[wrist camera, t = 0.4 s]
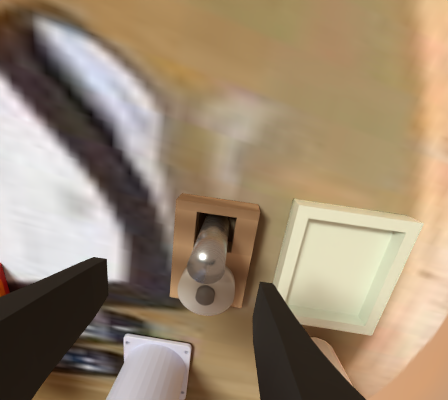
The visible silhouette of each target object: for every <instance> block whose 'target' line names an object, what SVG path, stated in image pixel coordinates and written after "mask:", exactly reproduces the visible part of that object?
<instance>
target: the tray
mask: <svg viewBox="0 0 448 400" xmlns="http://www.w3.org/2000/svg"><path fill="white" fill-rule="evenodd" d="M423 224H424V223H422V222H420V221H418V220H416V219H413V218H411V217H409V216H407V215H402V214H395V213H388V212H381V211H374V210H367V209H360V208H354V207H347V206H340V205H333V204H326V203H319V202H312V201H305V200H299V199H293V203H292V207H291V211H290V215H289V219H288V223H287V227H286V231H285V235H284V239H283V243H282V247H281V251H280V256H279V260H278V264H277V268H276V272H275V276H274V280H273V284H274V285H275V287H276V288H277V290H278V291H279V293H280V294H281V296H282V298H283V299H284V301H285V302H286V304H287V305H288V307H289V308H290V310H291V311H292V313H293V314H294V315H295V317H296V318H297V320H298V321H299V323H300V324H302V325H308V326H314V327H321V328H327V329H333V330H339V331H346V332H352V333H358V334H364V335H371V336H372V334H373V332H374V330H375V328H376V326H377V324H378V322H379V319H380V317H381V315H382V313H383V311H384V309H385V306H386V304H387V302H388V300H389V298H390V296H391V293H392V291H393V289H394V287H395V285H396V283H397V281H398V278H399V276H400V274H401V272H402V270H403V268H404V265H405V263H406V261H407V259H408V257H409V255H410V253H411V250H412V248H413V246H414V244H415V242H416V240H417V237H418V235H419V233H420V231H421V229H422V227H423Z"/></svg>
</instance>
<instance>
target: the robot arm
mask: <svg viewBox="0 0 448 400" xmlns="http://www.w3.org/2000/svg"><path fill="white" fill-rule="evenodd" d="M107 296H108V277H107V259H103V258H96V257H93V258H90V259H88V260H85V261H83V262H80V263H78V264H76V265H74V266H71V267H69V268H67V269H65V270H62V271H60V272H58V273H56V274H53V275H51V276H49V277H47V278H44V279H42V280H40V281H37V282H35V283H33V284H30V285H28V286H25V287H23V288H21V289H18V290H16V291H13V292H11V293H8V294H6V295H4V296H1V297H0V400H32V398H33V397H34V395H35V394H36V392H37V391H38V389H39V388H40V386H41V385H42V384H43V382H44V381H45V380H46V378H47V377H48V376H49V374H50V373H51V372H52V370H53V369H54V368H55V366H56V365H57V364H58V363H59V361H60V360H61V359H62V358H63V356H64V355H65V354H66V353H67V351H68V350H69V349H70V348H71V346H72V345H73V344H74V343H75V341H76V340H77V339H78V338H79V336H80V335H81V334H82V333H83V331H84V330H85V329H86V327H87V326H88V325H89V324H90V322H91V321H92V320H93V318H94V317H95V316H96V314H97V313H98V311H99V309H100V308H101V306H102V305H103V303H104V301H105V300H106V298H107ZM253 344H254V352H255V360H256V368H257V376H258V384H259V391H260V399H261V400H366V399H365V398H364V397H363V396H362V395H361V394H360V393H359V392H358V391H357V390H356V389H355V388H354V387H353V386H352V385H351V384H350V383H349V382H348V381H347V380H346V379H345V377H344V376H343V375H342V374H341V373H340V372H339V371H338V370H337V369H336V367H335V366H334V365H333V364H332V363H331V362H330V361H329V360H328V358H327V357H326V356H325V355H324V354H323V352H322V351H321V350H320V349H319V348H318V346H317V345H316V344H315V343H314V341H313V340H312V339H311V337H310V336H309V335H308V333H307V332H306V331H305V329H304V328H303V327H302V325H301V324H300V323H299V321H298V320H297V318H296V317H295V315H294V314H293V313H292V311H291V310H290V308H289V307H288V305H287V304H286V302H285V301H284V299H283V298H282V296H281V294H280V293H279V291H278V290H277V288H276V287H275V285H274V284H273V283H266V282H260V284H259V289H258V294H257V298H256V303H255V308H254V313H253ZM191 349H192V346H191V345H190V344H188V343H183V342H176V341H170V340H164V339H158V338H152V337H146V336H140V335H134V334H126V335H125V337H124V365H123V367H122V369H121V371H120V373H119V375H118V377H117V379H116V381H115V382H114V384H113V386H112V388H111V390H110V392H109V394H108V396H107V398H106V400H184V399H185V398H186V392H187V383H188V375H189V366H190V357H191Z"/></svg>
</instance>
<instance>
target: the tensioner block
mask: <svg viewBox="0 0 448 400" xmlns="http://www.w3.org/2000/svg"><path fill="white" fill-rule="evenodd" d="M200 212H202V213H209V214H215V215H222V216H229V217H235V218H236V220H235V226H234V232H233V239H232V242H228V243H227V253H226V263H225V272H224V275H223V277H222V278H221V279H220V280H219V281H217V282H216V283H213V284H202V283H199V282H197V281H195V280H194V279H193V278H191V276H190V275H189V273H188V270H187V263H188V260H189V258H190V255H191V253H192V250H193V248H194V245H195V243H196V240H197V238H198V228H199V218H200ZM259 216H260V209H259V206H258V204H252V203H246V202H239V201H232V200H225V199H218V198H212V197H205V196H198V195H191V194H184V193H182V194H181V195H180V196H179V197H178V198H177V199H176V211H175V226H174V242H173V257H172V272H171V287H170V297H174V298H179V299H180V301H181V302H182V304H183V305H184V306H185V307H186V308H187V309H189V310H190V311H192V312H194V313H197V314H200V315H206V316H211V315H217V314H220V313H222V312H224V311H225V310H227V309H228V308H229V307H230V306H231V307H237V308H241V307H242V302H243V297H244V291H245V286H246V281H247V276H248V271H249V266H250V261H251V256H252V251H253V246H254V241H255V236H256V231H257V226H258V221H259Z"/></svg>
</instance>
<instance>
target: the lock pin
mask: <svg viewBox="0 0 448 400" xmlns="http://www.w3.org/2000/svg"><path fill="white" fill-rule="evenodd" d="M228 233H229V219H228V218H227V216H222V215H215V214H208V215H207V216H206V218H205V220H204V223H203V225H202V228H201V230H200V233H199V235H198V238H197V240H196V243H195V245H194V248H193V250H192V253H191V255H190V258H189V260H188V263H187V270H188V273H189V275H190V276H191V278H193V279H194V280H195V281H197V282H199V283H202V284H213V283H216V282H217V281H219V280H220V279H221V278H222V277H223V275H224V272H225V263H226V253H227V243H228Z"/></svg>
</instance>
